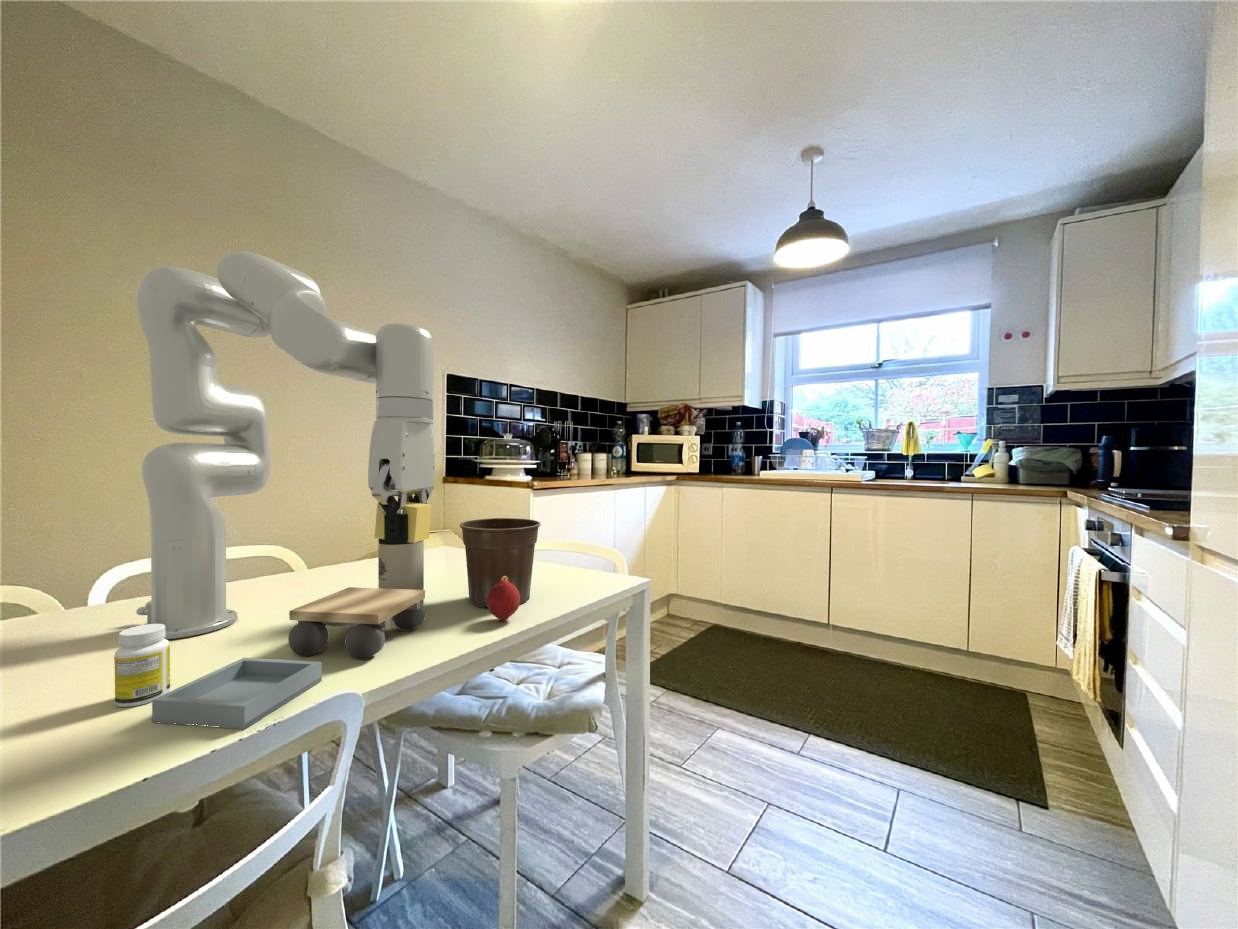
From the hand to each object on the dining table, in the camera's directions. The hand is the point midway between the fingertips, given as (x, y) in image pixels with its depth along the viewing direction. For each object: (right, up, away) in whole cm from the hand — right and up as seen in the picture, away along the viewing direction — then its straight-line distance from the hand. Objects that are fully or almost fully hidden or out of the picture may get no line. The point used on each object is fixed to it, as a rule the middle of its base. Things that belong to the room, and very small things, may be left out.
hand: (405, 538), depth 68 cm
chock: (-1, 0, 0) cm, 1 cm away
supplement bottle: (-27, -18, -11) cm, 34 cm away
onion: (+10, -18, +17) cm, 27 cm away
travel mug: (-11, -18, +23) cm, 31 cm away
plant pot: (+6, -18, +29) cm, 35 cm away
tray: (-14, -18, -12) cm, 25 cm away
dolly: (-10, -17, +7) cm, 21 cm away
